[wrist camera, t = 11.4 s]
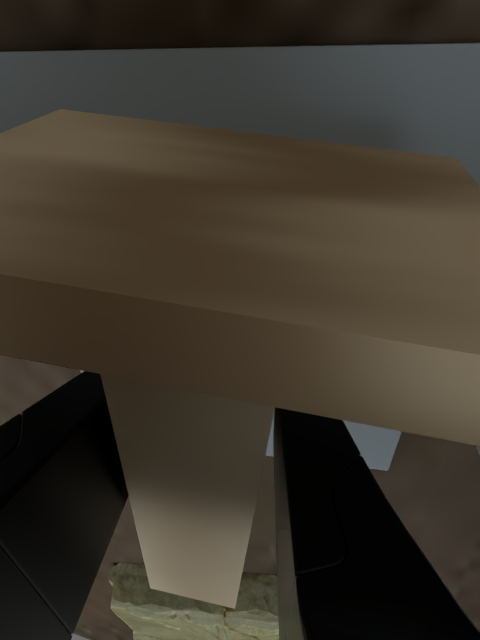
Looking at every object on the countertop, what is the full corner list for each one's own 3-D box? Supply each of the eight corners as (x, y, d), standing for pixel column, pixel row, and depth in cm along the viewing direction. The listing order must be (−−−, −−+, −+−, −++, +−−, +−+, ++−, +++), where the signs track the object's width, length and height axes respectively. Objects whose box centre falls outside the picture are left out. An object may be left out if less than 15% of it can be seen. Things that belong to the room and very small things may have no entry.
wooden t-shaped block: (457, 157, 7) (628, 380, 3) (323, 487, 14) (318, 679, 10) (60, 108, 7) (-247, 231, 3) (128, 447, 14) (53, 610, 10)
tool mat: (524, 42, 9) (536, 42, 8) (386, 458, 17) (387, 470, 17) (-17, 52, 10) (-32, 53, 10) (108, 424, 19) (102, 435, 19)
